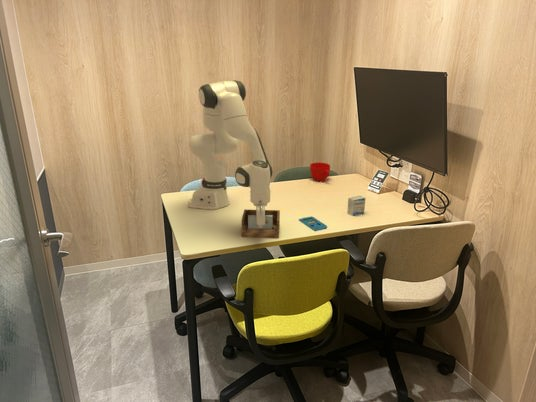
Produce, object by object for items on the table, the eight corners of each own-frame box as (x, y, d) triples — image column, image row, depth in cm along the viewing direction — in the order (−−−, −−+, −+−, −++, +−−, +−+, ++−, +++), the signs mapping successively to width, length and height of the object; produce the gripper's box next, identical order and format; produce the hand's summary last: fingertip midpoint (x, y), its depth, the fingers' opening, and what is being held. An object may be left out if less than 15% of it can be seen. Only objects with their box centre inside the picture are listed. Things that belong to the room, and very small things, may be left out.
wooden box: (241, 236, 179) (241, 220, 177) (244, 224, 192) (244, 209, 189) (278, 237, 179) (279, 221, 176) (279, 225, 191) (279, 210, 188)
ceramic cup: (319, 185, 248) (320, 170, 244) (305, 178, 262) (306, 163, 258) (336, 183, 253) (337, 168, 249) (322, 175, 267) (323, 161, 263)
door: (248, 233, 179) (248, 217, 176) (248, 231, 181) (248, 215, 178) (272, 233, 179) (272, 217, 176) (272, 231, 182) (272, 215, 179)
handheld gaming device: (314, 229, 185) (298, 218, 197) (314, 232, 185) (298, 220, 198) (329, 226, 189) (312, 215, 201) (329, 228, 189) (311, 217, 201)
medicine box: (352, 216, 203) (353, 200, 200) (346, 213, 206) (348, 197, 203) (364, 213, 206) (365, 197, 203) (358, 210, 210) (360, 195, 207)
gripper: (268, 206, 165) (268, 235, 170) (266, 189, 184) (266, 216, 189) (253, 206, 165) (253, 235, 170) (253, 189, 184) (253, 217, 189)
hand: (260, 225), depth 180 cm, fingers closed on door, 2 cm apart
